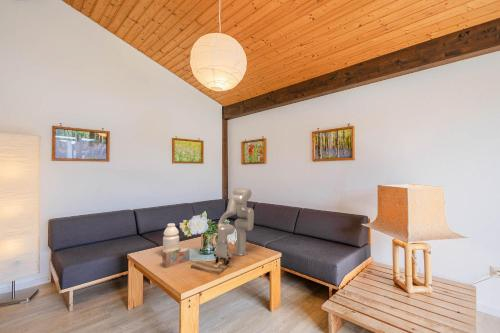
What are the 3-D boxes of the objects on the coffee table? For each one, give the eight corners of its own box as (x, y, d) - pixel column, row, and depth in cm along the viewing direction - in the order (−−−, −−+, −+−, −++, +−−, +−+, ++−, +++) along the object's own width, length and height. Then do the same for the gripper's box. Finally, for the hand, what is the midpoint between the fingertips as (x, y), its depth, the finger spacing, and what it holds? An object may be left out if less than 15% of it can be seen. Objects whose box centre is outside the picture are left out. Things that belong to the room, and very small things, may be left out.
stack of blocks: (185, 258, 203) (185, 244, 203) (189, 260, 199) (189, 245, 199) (162, 266, 187) (162, 250, 187) (166, 268, 183) (166, 252, 183)
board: (199, 262, 194) (199, 260, 194) (226, 268, 184) (226, 266, 184) (190, 267, 184) (190, 265, 184) (219, 274, 174) (219, 271, 174)
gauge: (220, 264, 191) (220, 257, 191) (226, 265, 189) (226, 258, 189) (212, 270, 180) (212, 262, 180) (218, 271, 178) (218, 264, 178)
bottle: (159, 257, 205) (159, 225, 205) (168, 251, 218) (169, 221, 218) (173, 259, 201) (173, 226, 201) (182, 253, 215) (182, 222, 214)
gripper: (234, 242, 188) (234, 263, 188) (215, 239, 195) (215, 260, 195) (229, 245, 181) (229, 267, 181) (210, 242, 188) (210, 263, 188)
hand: (222, 263), depth 188 cm, fingers open, 9 cm apart
